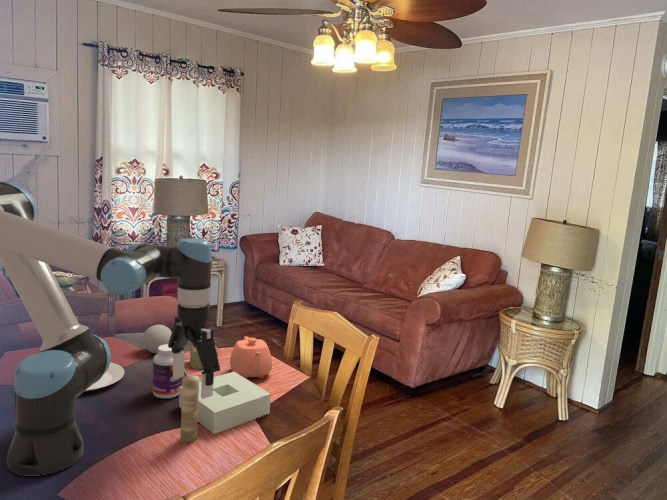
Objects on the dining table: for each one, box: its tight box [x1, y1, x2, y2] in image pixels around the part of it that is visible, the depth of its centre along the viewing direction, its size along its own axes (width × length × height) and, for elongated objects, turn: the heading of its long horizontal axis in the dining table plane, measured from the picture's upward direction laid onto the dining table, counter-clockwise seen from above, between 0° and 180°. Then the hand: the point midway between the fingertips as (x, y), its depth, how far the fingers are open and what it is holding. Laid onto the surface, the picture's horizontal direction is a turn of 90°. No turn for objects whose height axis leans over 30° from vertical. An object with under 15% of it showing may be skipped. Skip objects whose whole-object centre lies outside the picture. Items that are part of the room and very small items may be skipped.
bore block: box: [178, 371, 272, 435], centre depth 144 cm, size 18×18×6 cm
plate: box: [84, 361, 125, 392], centre depth 155 cm, size 21×21×2 cm
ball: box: [142, 324, 172, 355], centre depth 179 cm, size 10×10×10 cm
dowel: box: [180, 375, 200, 444], centre depth 127 cm, size 4×4×16 cm
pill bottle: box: [152, 344, 183, 400], centre depth 150 cm, size 8×8×14 cm
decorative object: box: [189, 344, 219, 370], centre depth 173 cm, size 9×10×10 cm
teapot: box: [229, 335, 273, 380], centre depth 167 cm, size 13×20×12 cm, turn 22°
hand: (192, 386), depth 126 cm, fingers open, 13 cm apart
